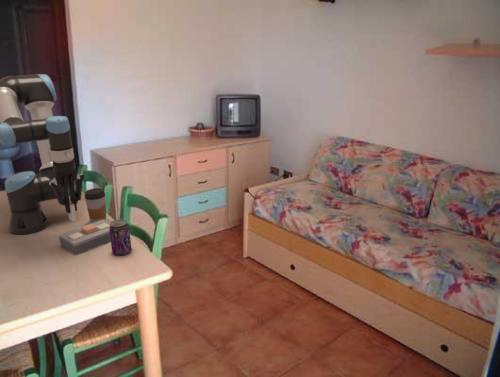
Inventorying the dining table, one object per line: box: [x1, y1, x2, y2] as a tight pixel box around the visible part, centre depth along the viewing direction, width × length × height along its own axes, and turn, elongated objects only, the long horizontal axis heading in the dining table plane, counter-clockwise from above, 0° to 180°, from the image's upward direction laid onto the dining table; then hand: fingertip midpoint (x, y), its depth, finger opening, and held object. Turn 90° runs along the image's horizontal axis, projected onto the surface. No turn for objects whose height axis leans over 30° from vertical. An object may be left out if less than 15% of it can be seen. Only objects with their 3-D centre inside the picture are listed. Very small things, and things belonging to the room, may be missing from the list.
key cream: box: [68, 232, 84, 240], centre depth 170 cm, size 4×4×3 cm
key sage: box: [96, 223, 110, 230], centre depth 178 cm, size 4×4×3 cm
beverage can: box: [109, 218, 132, 256], centre depth 164 cm, size 7×7×12 cm
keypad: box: [58, 219, 111, 256], centre depth 174 cm, size 12×19×5 cm, turn 138°
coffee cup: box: [84, 187, 107, 224], centre depth 188 cm, size 8×8×15 cm
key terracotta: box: [80, 223, 98, 235], centre depth 173 cm, size 4×4×3 cm
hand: (73, 219), depth 167 cm, fingers closed
